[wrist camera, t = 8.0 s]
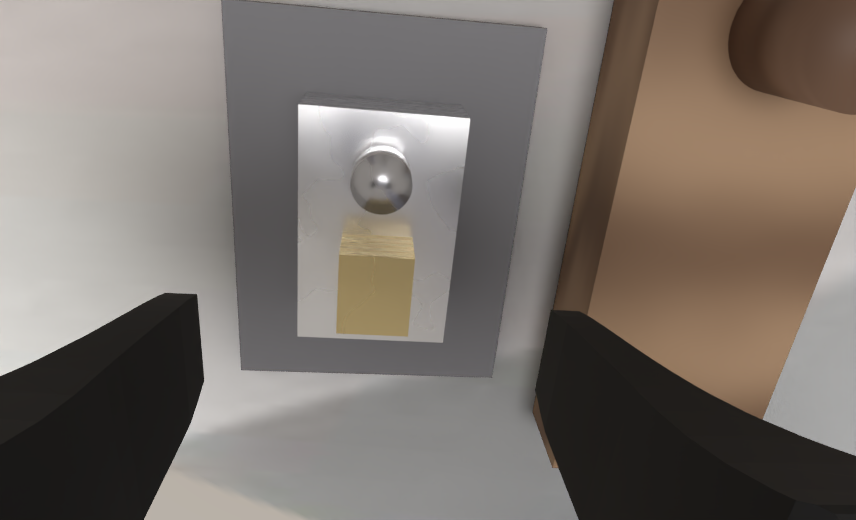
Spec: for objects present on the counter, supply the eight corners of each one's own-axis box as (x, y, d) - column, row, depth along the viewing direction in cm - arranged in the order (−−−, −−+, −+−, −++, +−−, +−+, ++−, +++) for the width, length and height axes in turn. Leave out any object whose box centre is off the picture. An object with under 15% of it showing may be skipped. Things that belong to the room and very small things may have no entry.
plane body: (700, 416, 24) (816, 570, 17) (532, 411, 23) (589, 570, 17) (850, -18, 17) (1124, -24, 11) (622, -42, 17) (771, -64, 10)
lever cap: (437, 311, 20) (447, 370, 17) (305, 305, 20) (290, 364, 17) (461, 105, 17) (478, 130, 14) (307, 92, 17) (289, 115, 14)
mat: (489, 368, 22) (491, 377, 22) (244, 360, 21) (241, 370, 21) (542, 27, 17) (547, 28, 17) (227, -2, 16) (221, -2, 16)
